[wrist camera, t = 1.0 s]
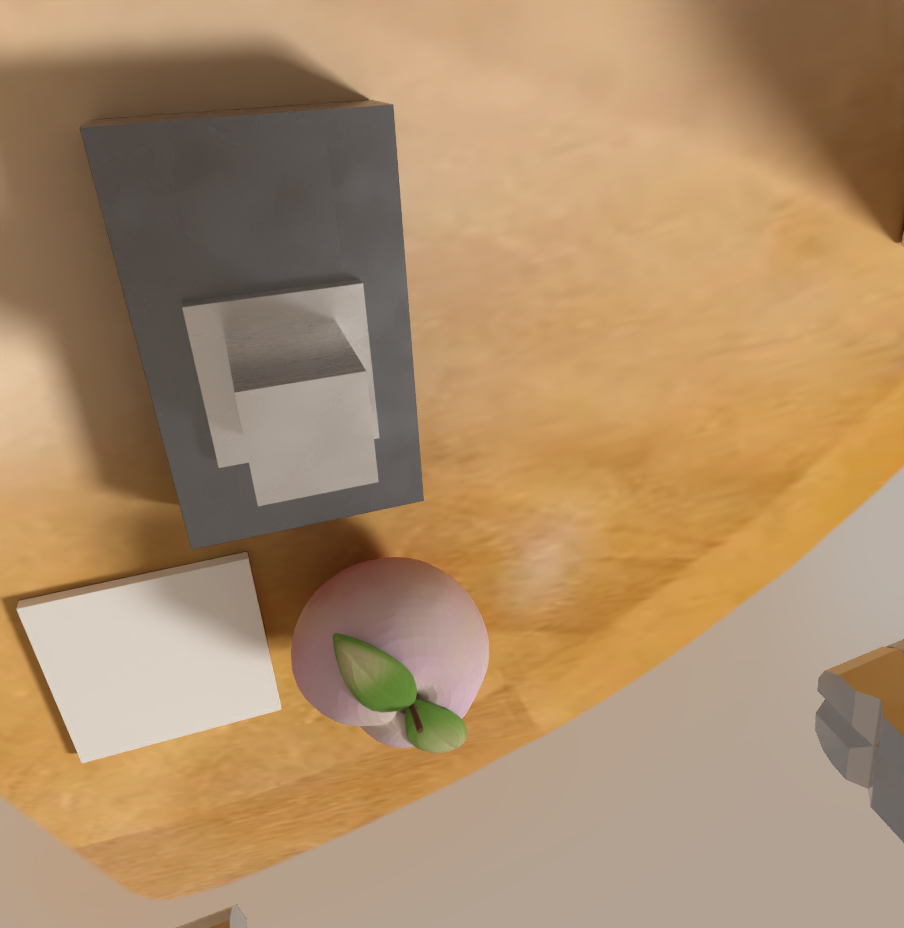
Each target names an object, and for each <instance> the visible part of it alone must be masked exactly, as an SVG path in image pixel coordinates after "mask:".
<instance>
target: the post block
mask: <svg viewBox="0 0 904 928" xmlns="http://www.w3.org/2000/svg"><path fill="white" fill-rule="evenodd" d="M80 130H81V134H82V138H83V142H84V146H85V149H86V153H87V157H88V161H89V164H90V168H91V172H92V176H93V179H94V183H95V187H96V191H97V195H98V198H99V202H100V206H101V210H102V213H103V217H104V221H105V225H106V229H107V232H108V236H109V240H110V244H111V247H112V251H113V255H114V259H115V262H116V266H117V270H118V274H119V278H120V281H121V285H122V289H123V293H124V296H125V300H126V304H127V308H128V312H129V315H130V319H131V323H132V327H133V330H134V334H135V338H136V342H137V345H138V349H139V353H140V357H141V361H142V364H143V368H144V372H145V376H146V379H147V383H148V387H149V391H150V395H151V398H152V402H153V406H154V410H155V413H156V417H157V421H158V425H159V428H160V432H161V436H162V440H163V444H164V447H165V451H166V455H167V459H168V462H169V466H170V470H171V474H172V478H173V481H174V485H175V489H176V493H177V496H178V500H179V504H180V508H181V511H182V515H183V519H184V523H185V527H186V530H187V534H188V538H189V542H190V545H191V549H197V548H202V547H207V546H211V545H216V544H221V543H226V542H230V541H235V540H240V539H245V538H249V537H254V536H259V535H263V534H268V533H273V532H278V531H282V530H287V529H292V528H297V527H301V526H306V525H311V524H316V523H320V522H325V521H330V520H335V519H339V518H344V517H349V516H354V515H358V514H363V513H368V512H373V511H377V510H382V509H387V508H392V507H396V506H401V505H406V504H411V503H415V502H420V501H424V498H423V485H422V472H421V459H420V446H419V433H418V420H417V407H416V394H415V381H414V368H413V355H412V342H411V329H410V316H409V303H408V290H407V277H406V264H405V251H404V238H403V226H402V213H401V200H400V187H399V174H398V161H397V148H396V135H395V122H394V109H393V104H388V103H383V102H379V101H374V100H362V101H348V102H334V103H320V104H306V105H292V106H278V107H264V108H250V109H236V110H222V111H208V112H193V113H179V114H165V115H151V116H137V117H123V118H109V119H95V120H90V121H88V122H87V123H85V124H84V125H83V126H81V127H80ZM358 279H360V280H361V281H362V283H363V287H364V297H365V306H366V315H367V325H368V334H369V344H370V353H371V363H372V372H373V382H374V391H375V400H376V410H377V419H378V429H379V438H377V439H374V444H375V453H376V462H377V471H378V481H379V482H377V483H372V484H367V485H362V486H357V487H352V488H347V489H342V490H337V491H332V492H327V493H322V494H317V495H312V496H307V497H302V498H297V499H292V500H287V501H282V502H277V503H272V504H267V505H262V506H258V504H257V500H256V495H255V490H254V485H253V480H252V475H251V470H250V465H249V463H243V464H238V465H232V466H227V467H222V468H219V467H218V462H217V458H216V454H215V449H214V445H213V441H212V436H211V432H210V427H209V423H208V419H207V414H206V410H205V406H204V401H203V397H202V392H201V388H200V384H199V379H198V375H197V370H196V366H195V362H194V357H193V353H192V349H191V344H190V340H189V335H188V331H187V327H186V322H185V318H184V314H183V309H182V303H184V302H191V301H199V300H206V299H214V298H222V297H229V296H237V295H244V294H252V293H260V292H267V291H275V290H282V289H290V288H298V287H305V286H313V285H320V284H328V283H336V282H343V281H351V280H358Z"/></svg>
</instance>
